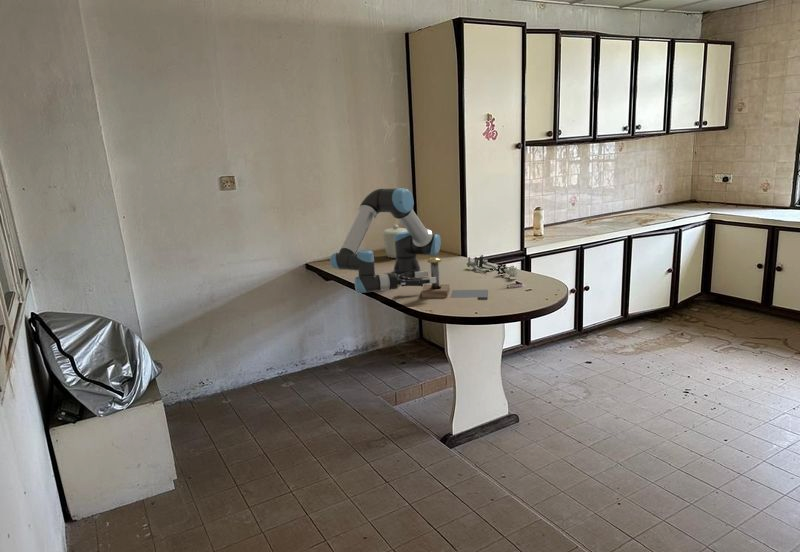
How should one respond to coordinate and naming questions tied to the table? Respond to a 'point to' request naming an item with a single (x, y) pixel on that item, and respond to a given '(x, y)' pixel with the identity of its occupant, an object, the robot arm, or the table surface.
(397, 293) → the table surface
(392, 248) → the canister
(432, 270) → the brass topped pillar
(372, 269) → the robot arm
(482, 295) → the mat
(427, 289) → the eye block
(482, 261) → the bike brake
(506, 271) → the valve
